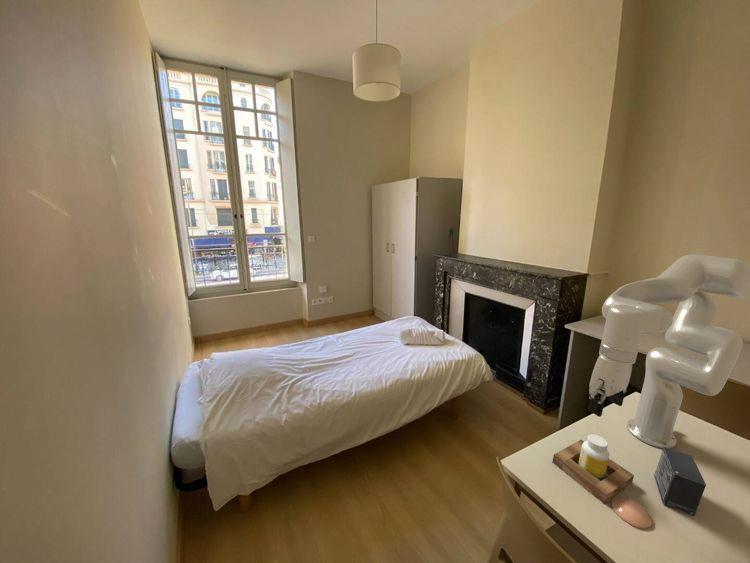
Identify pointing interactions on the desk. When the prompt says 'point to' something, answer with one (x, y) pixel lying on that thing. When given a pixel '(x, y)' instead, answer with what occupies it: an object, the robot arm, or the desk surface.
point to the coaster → (631, 512)
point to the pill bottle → (594, 456)
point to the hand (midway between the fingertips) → (604, 408)
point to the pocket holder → (599, 489)
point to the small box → (679, 481)
